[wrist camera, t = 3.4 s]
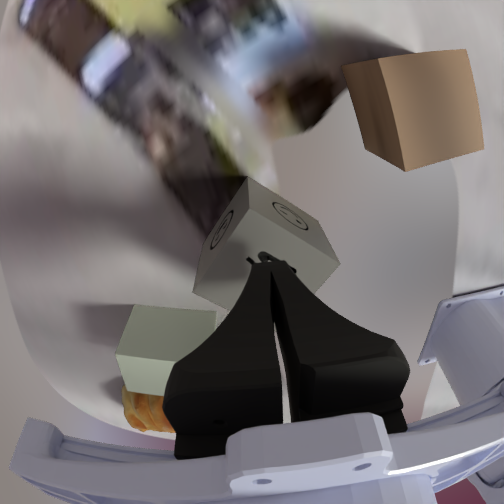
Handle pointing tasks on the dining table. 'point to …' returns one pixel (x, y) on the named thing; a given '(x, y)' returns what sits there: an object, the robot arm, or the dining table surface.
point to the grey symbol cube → (261, 245)
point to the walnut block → (416, 107)
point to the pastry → (145, 411)
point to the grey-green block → (159, 344)
